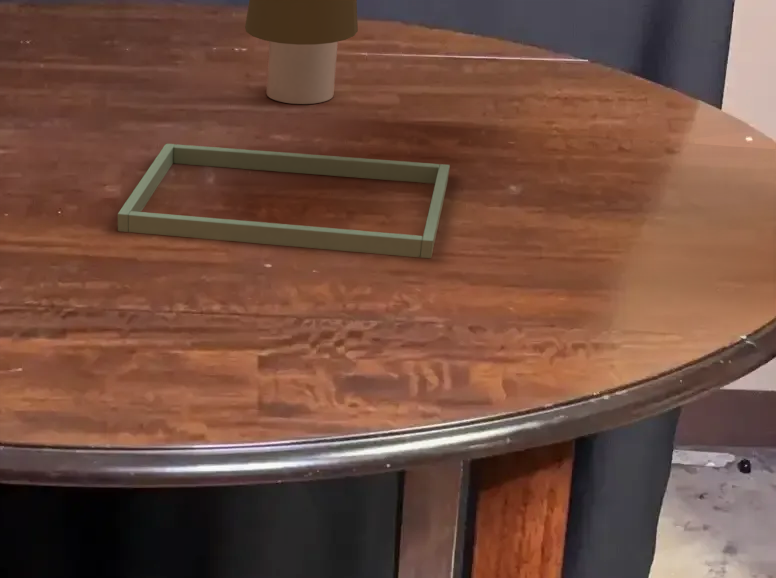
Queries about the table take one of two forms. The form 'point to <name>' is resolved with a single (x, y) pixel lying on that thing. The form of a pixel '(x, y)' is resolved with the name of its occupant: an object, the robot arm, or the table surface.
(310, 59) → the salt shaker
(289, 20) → the cork
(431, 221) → the sage frame
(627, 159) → the table surface
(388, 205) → the table surface
